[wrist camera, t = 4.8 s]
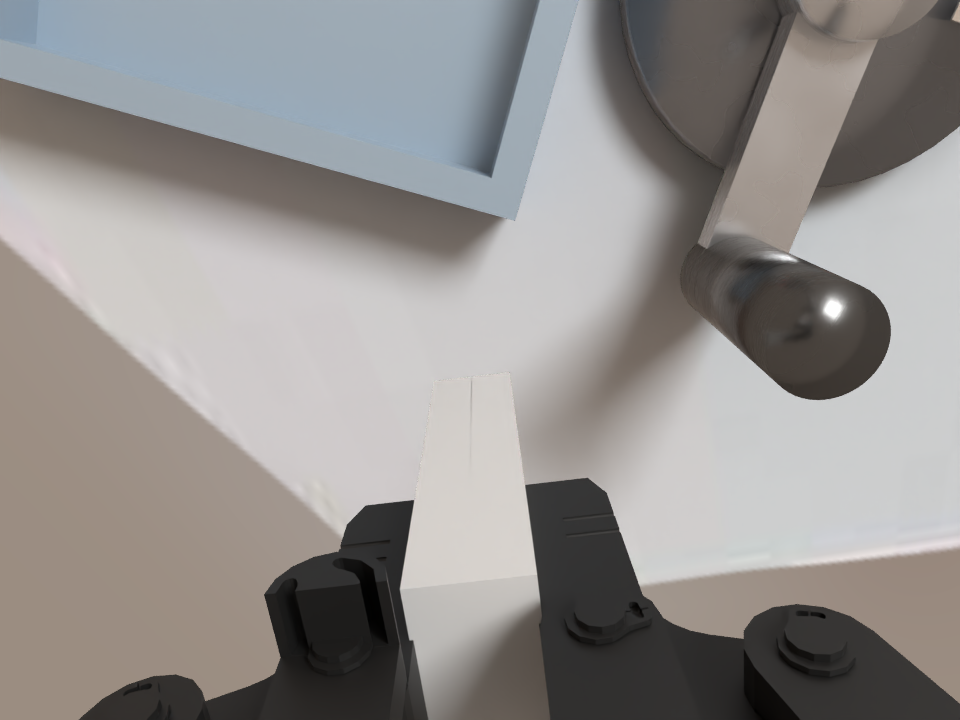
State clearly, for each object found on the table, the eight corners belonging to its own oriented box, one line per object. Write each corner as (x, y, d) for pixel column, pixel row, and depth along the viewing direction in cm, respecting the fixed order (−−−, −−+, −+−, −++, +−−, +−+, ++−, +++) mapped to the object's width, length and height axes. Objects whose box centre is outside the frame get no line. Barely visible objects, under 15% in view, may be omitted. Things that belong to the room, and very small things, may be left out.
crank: (808, -137, 19) (987, -270, 12) (944, -90, 19) (1188, -196, 13) (650, 300, 23) (721, 377, 16) (765, 331, 23) (881, 418, 17)
